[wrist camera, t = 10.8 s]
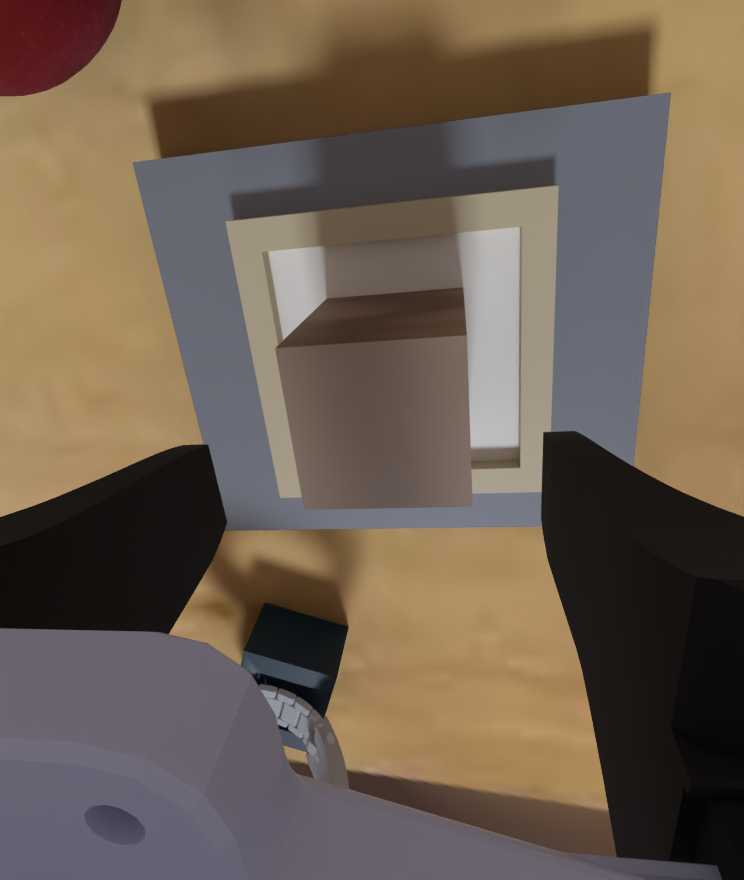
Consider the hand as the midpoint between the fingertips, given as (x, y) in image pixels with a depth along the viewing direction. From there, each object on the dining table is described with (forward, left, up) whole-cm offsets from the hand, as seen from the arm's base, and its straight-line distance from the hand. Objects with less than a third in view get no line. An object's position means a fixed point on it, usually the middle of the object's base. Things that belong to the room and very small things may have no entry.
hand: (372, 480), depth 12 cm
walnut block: (0, 0, -8) cm, 8 cm away
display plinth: (0, 0, -10) cm, 10 cm away
